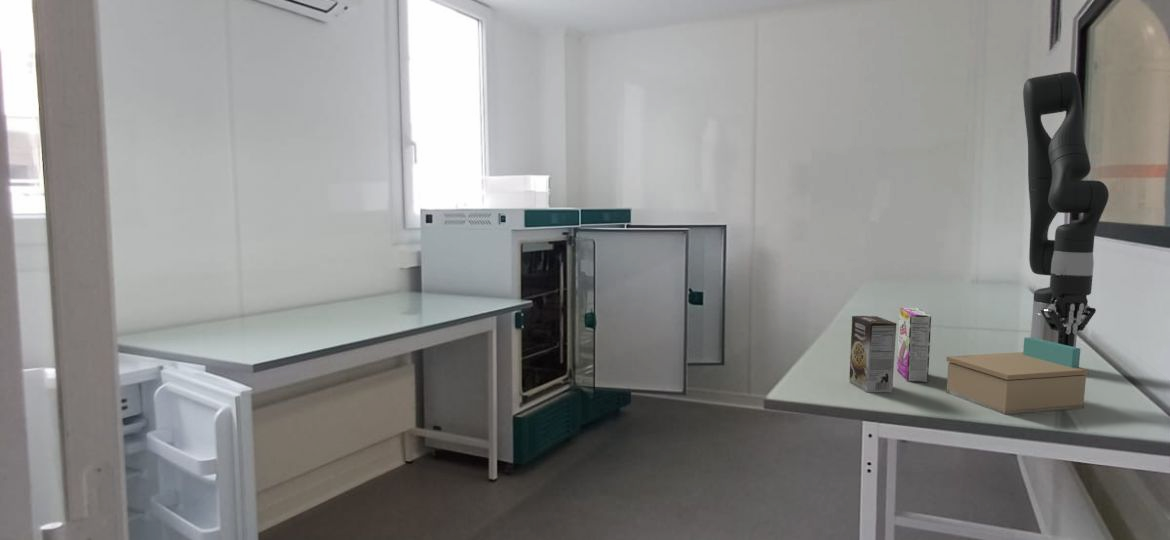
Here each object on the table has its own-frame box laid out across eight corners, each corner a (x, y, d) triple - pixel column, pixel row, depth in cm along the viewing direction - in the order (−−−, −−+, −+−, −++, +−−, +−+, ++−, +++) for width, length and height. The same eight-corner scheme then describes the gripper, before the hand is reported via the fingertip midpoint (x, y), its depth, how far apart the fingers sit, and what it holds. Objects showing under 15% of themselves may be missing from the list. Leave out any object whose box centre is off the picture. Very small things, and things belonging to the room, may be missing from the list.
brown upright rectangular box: (847, 381, 164) (850, 315, 162) (873, 381, 165) (876, 315, 163) (866, 392, 155) (870, 322, 153) (893, 392, 155) (897, 322, 154)
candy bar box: (895, 370, 175) (898, 307, 173) (916, 371, 174) (919, 307, 172) (906, 381, 164) (910, 314, 163) (928, 383, 163) (932, 315, 162)
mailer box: (1019, 387, 160) (1021, 358, 159) (1083, 407, 144) (1086, 375, 144) (946, 392, 155) (948, 362, 154) (1004, 414, 140) (1007, 380, 139)
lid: (1021, 356, 159) (1023, 335, 159) (1088, 374, 143) (1090, 350, 143) (946, 360, 155) (947, 339, 154) (1007, 380, 139) (1009, 355, 138)
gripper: (1079, 269, 155) (1073, 345, 157) (1032, 271, 152) (1026, 347, 154) (1112, 273, 148) (1105, 352, 150) (1062, 274, 145) (1056, 355, 146)
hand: (1065, 349), depth 152 cm, fingers closed
